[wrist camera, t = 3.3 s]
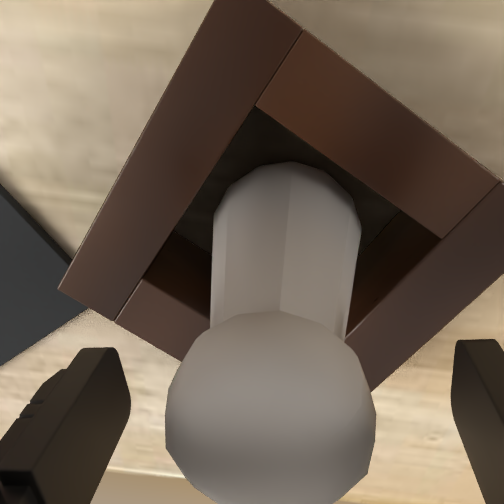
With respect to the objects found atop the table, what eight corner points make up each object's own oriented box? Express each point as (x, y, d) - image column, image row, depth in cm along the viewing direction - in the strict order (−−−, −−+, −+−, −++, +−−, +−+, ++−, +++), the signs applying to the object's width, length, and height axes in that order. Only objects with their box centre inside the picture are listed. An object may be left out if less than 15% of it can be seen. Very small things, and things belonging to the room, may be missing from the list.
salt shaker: (343, 278, 21) (391, 583, 10) (220, 265, 22) (123, 545, 10) (365, 152, 19) (465, 364, 7) (224, 141, 19) (98, 323, 7)
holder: (102, 240, 22) (55, 289, 18) (247, -16, 16) (229, -29, 12) (314, 371, 24) (317, 441, 20) (504, 182, 18) (559, 225, 14)
